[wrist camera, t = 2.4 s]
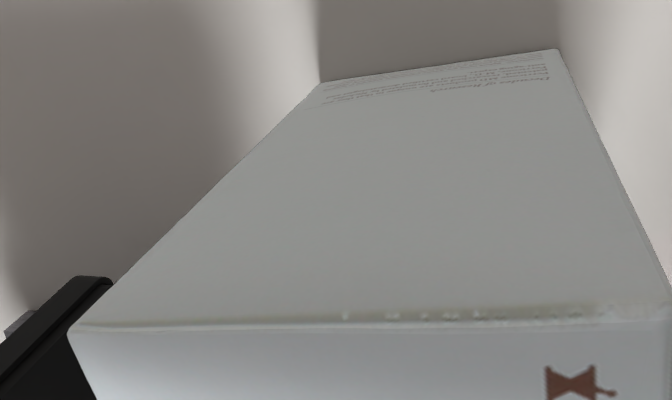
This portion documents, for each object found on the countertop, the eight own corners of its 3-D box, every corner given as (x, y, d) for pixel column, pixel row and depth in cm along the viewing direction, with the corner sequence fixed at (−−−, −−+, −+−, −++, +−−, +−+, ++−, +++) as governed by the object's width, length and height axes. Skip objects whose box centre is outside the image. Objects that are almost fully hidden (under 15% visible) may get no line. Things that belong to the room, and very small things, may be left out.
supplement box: (313, 78, 18) (39, 315, 7) (564, 42, 16) (720, 305, 5) (354, 277, 21) (201, 667, 10) (571, 270, 19) (682, 757, 8)
